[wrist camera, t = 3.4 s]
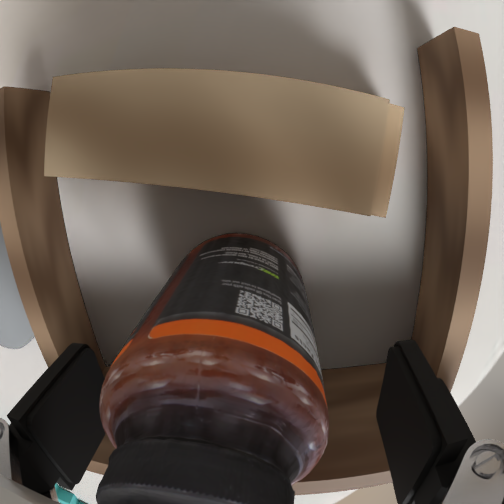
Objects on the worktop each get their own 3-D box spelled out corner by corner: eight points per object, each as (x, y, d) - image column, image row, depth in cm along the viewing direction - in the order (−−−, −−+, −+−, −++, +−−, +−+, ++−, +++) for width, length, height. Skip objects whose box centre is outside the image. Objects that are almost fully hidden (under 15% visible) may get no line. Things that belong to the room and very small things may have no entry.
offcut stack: (98, 86, 12) (40, 73, 8) (382, 115, 12) (427, 105, 8) (90, 167, 14) (31, 181, 9) (367, 203, 13) (406, 229, 9)
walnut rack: (33, 98, 12) (-70, 96, 6) (439, 52, 10) (534, 11, 4) (96, 379, 18) (46, 456, 11) (421, 372, 16) (465, 462, 9)
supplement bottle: (192, 346, 16) (118, 547, 5) (166, 236, 14) (-9, 418, 4) (308, 339, 15) (332, 565, 5) (300, 222, 14) (364, 459, 3)
